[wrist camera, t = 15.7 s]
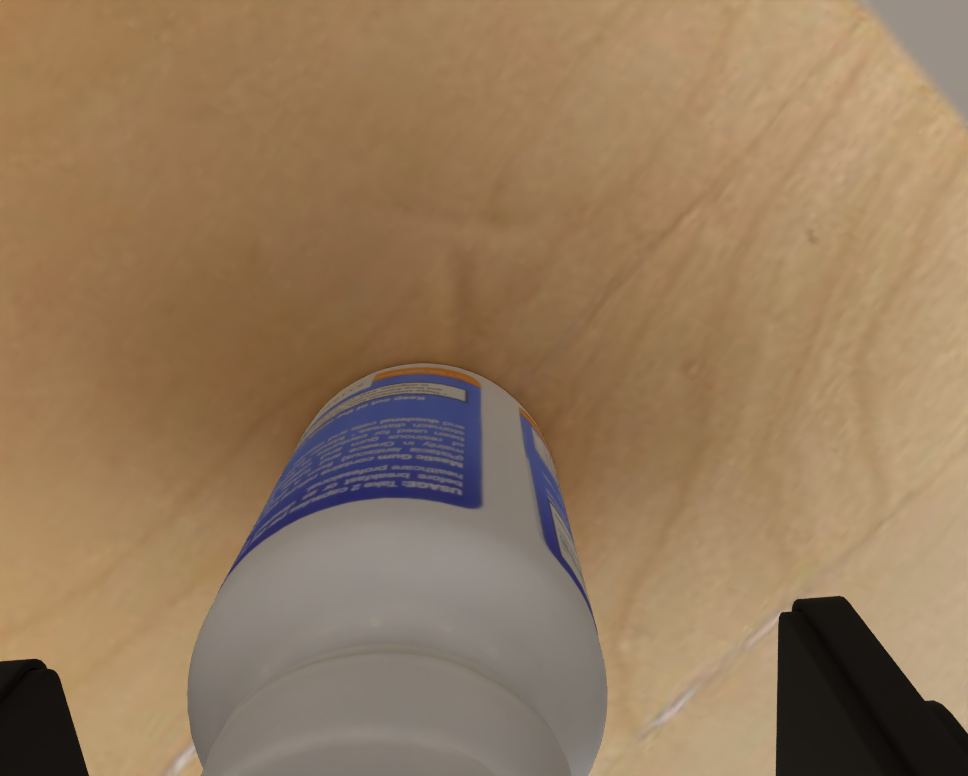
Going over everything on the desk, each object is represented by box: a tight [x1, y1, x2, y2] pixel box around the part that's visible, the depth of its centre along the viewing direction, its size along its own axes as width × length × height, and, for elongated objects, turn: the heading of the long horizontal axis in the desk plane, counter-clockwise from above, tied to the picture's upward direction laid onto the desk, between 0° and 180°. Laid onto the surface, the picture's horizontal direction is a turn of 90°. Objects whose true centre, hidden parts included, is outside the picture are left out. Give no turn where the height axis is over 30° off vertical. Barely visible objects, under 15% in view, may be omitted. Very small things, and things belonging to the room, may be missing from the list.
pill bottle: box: [187, 363, 607, 776], centre depth 12 cm, size 5×5×10 cm
